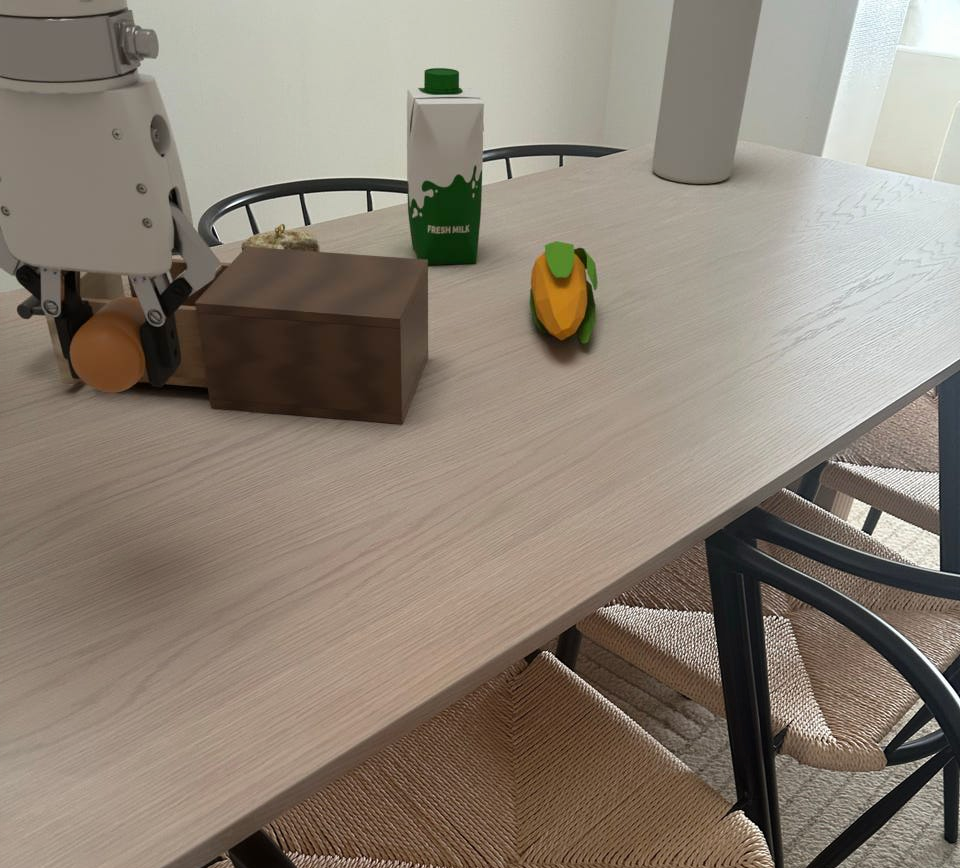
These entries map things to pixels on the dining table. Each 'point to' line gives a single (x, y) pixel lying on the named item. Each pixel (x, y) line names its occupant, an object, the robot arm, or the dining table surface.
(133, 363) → the bread roll
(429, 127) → the milk carton
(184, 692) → the dining table surface
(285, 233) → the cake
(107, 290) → the drawer
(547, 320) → the corn
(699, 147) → the cylinder vase
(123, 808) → the dining table surface
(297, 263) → the cabinet
